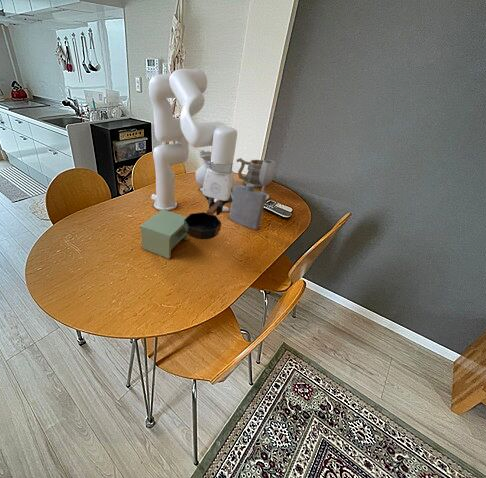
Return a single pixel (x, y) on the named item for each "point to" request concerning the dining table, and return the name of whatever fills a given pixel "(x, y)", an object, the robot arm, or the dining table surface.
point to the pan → (203, 224)
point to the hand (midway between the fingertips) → (215, 212)
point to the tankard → (251, 172)
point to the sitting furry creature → (225, 209)
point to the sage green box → (163, 232)
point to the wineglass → (266, 174)
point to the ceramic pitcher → (203, 168)
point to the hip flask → (247, 206)
